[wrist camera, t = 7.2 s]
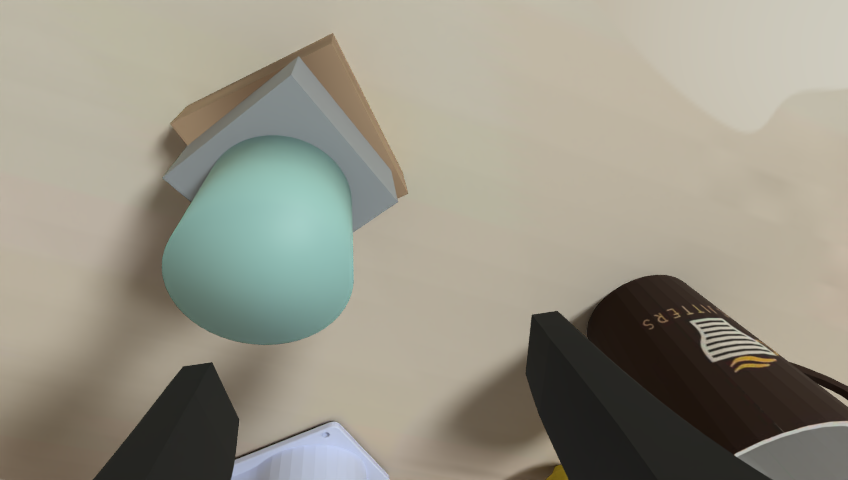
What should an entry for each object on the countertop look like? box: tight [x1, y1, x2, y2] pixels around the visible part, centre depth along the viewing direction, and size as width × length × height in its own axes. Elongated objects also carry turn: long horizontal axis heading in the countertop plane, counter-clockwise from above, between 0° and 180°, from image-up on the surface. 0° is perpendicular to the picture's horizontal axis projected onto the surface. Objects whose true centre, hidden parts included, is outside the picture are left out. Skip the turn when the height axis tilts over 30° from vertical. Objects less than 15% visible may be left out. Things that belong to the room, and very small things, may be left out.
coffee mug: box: [587, 275, 848, 480], centre depth 23 cm, size 12×9×10 cm
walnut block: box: [170, 33, 408, 198], centre depth 17 cm, size 6×6×2 cm
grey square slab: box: [163, 56, 398, 232], centre depth 15 cm, size 5×5×2 cm
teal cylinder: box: [162, 135, 354, 345], centre depth 13 cm, size 4×4×4 cm
